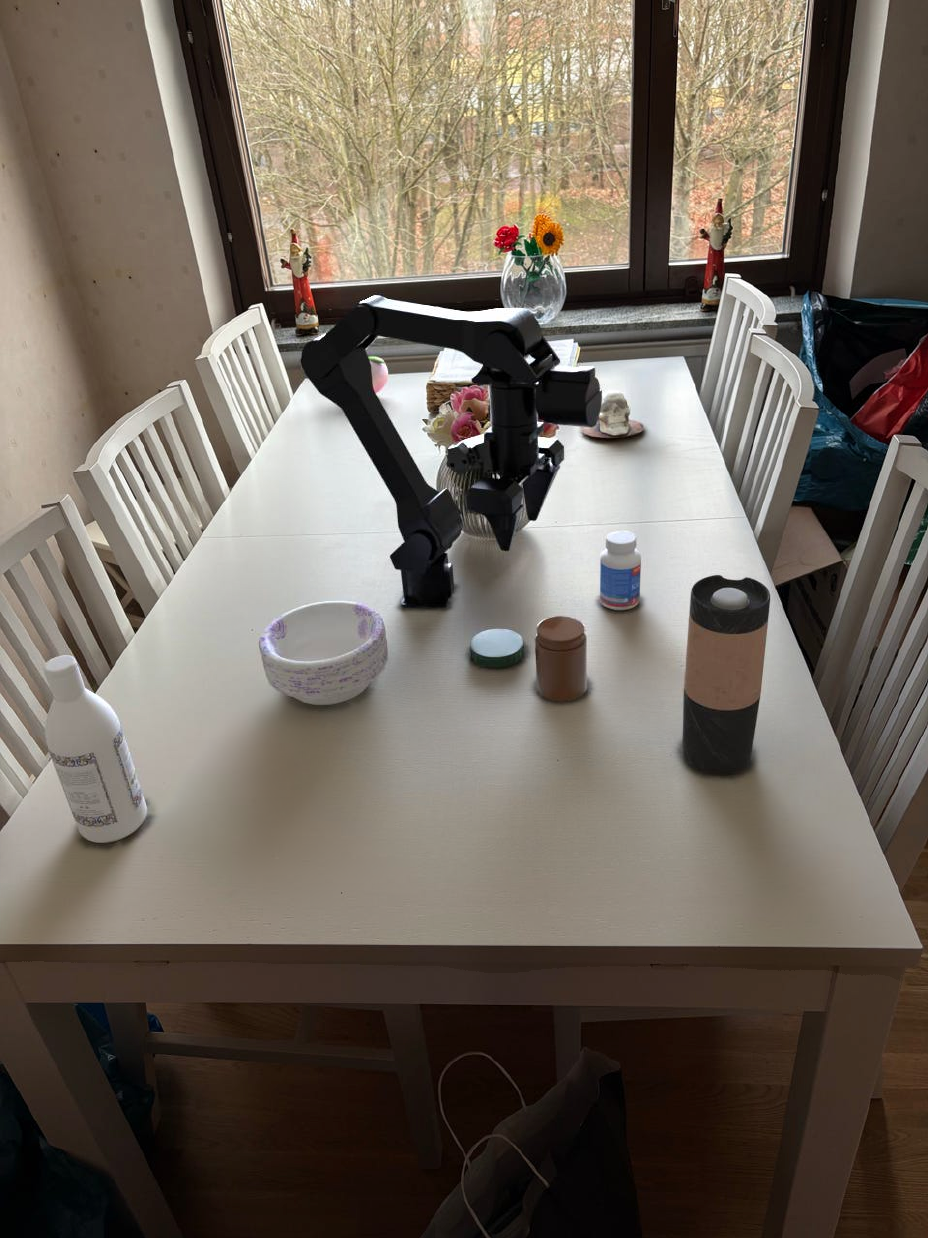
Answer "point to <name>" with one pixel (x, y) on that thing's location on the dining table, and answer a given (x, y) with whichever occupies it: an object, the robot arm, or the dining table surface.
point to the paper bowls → (324, 651)
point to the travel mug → (723, 672)
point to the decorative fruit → (378, 373)
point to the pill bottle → (620, 571)
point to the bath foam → (91, 757)
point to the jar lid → (497, 648)
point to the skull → (614, 418)
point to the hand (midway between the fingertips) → (519, 534)
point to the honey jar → (561, 658)
